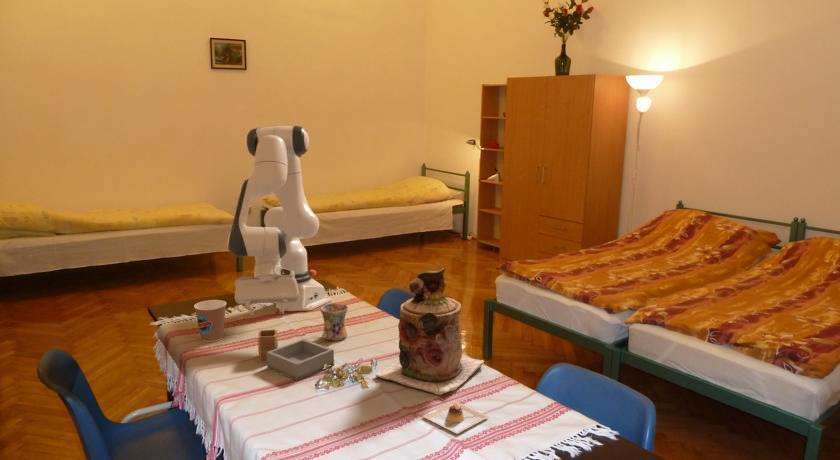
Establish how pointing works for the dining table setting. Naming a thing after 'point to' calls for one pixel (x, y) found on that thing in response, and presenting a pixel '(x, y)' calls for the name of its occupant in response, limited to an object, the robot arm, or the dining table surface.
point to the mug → (334, 321)
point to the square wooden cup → (266, 343)
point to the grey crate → (300, 359)
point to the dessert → (455, 414)
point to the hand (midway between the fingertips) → (266, 313)
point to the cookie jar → (430, 340)
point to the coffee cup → (211, 319)
